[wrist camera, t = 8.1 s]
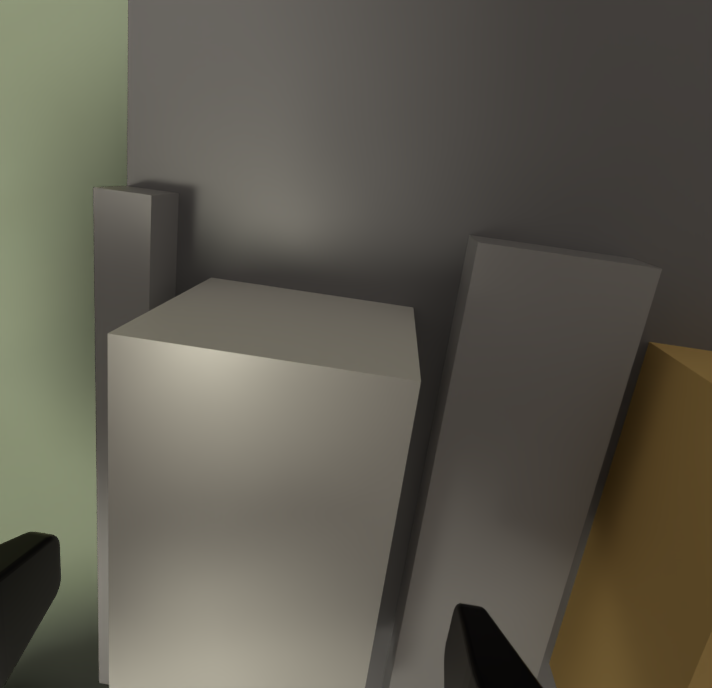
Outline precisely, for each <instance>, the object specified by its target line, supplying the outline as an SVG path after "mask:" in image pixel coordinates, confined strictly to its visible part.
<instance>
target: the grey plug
mask: <svg viewBox="0 0 712 688" xmlns="http://www.w3.org/2000/svg"><path fill="white" fill-rule="evenodd" d="M420 384H421V376H420V367H419V357H418V348H417V338H416V328H415V319H414V309H413V307H406V306H400V305H393V304H386V303H380V302H373V301H366V300H359V299H353V298H346V297H339V296H333V295H326V294H319V293H312V292H306V291H299V290H292V289H285V288H279V287H272V286H265V285H259V284H252V283H245V282H238V281H232V280H225V279H218V278H209V279H208V280H206V281H204V282H202V283H200V284H198V285H196V286H195V287H193V288H191V289H189V290H187V291H185V292H183V293H182V294H180V295H178V296H176V297H174V298H172V299H170V300H169V301H167V302H165V303H163V304H161V305H159V306H158V307H156V308H154V309H152V310H150V311H148V312H146V313H145V314H143V315H141V316H139V317H137V318H135V319H133V320H132V321H130V322H128V323H126V324H124V325H122V326H120V327H119V328H117V329H115V330H113V331H111V332H109V333H108V571H109V688H365V685H366V680H367V674H368V669H369V663H370V658H371V652H372V647H373V641H374V636H375V630H376V625H377V620H378V614H379V609H380V603H381V598H382V592H383V587H384V581H385V576H386V570H387V565H388V559H389V554H390V548H391V543H392V538H393V532H394V527H395V521H396V516H397V510H398V505H399V499H400V494H401V488H402V483H403V477H404V472H405V466H406V461H407V455H408V450H409V445H410V439H411V434H412V428H413V423H414V417H415V412H416V406H417V401H418V395H419V390H420Z"/></svg>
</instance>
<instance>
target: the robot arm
mask: <svg viewBox="0 0 712 688" xmlns="http://www.w3.org/2000/svg"><path fill="white" fill-rule="evenodd" d="M60 581H61V567H60V544H59V540H58V538H57V537H56V536H54V535H52V534H46V533H40V532H28V533H25V534H22V535H20V536H18V537H16V538H13V539H11V540H9V541H7V542H4V543H2V544H0V688H3V686H4V685H5V683H6V681H7V680H8V678H9V676H10V675H11V673H12V671H13V669H14V668H15V666H16V664H17V662H18V661H19V659H20V657H21V655H22V654H23V652H24V650H25V649H26V647H27V645H28V643H29V642H30V640H31V638H32V636H33V635H34V633H35V631H36V629H37V628H38V626H39V624H40V622H41V621H42V619H43V617H44V615H45V614H46V612H47V610H48V608H49V607H50V605H51V603H52V602H53V600H54V598H55V596H56V594H57V592H58V589H59V586H60ZM444 688H543V687H542V686H541V684H540V683H539V682H538V680H537V679H536V678H535V676H534V675H533V674H532V672H531V671H530V669H529V668H528V667H527V665H526V664H525V663H524V661H523V660H522V658H521V657H520V656H519V654H518V653H517V652H516V650H515V649H514V648H513V646H512V645H511V643H510V642H509V641H508V639H507V638H506V637H505V635H504V634H503V633H502V631H501V630H500V628H499V627H498V626H497V624H496V623H495V622H494V620H493V619H492V617H491V616H490V615H489V613H488V612H487V611H486V610H485V609H484V608H483V607H481V606H476V605H470V604H464V603H459V604H457V605H456V606H455V608H454V611H453V615H452V619H451V623H450V628H449V632H448V636H447V640H446V645H445V652H444Z"/></svg>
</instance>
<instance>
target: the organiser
mask: <svg viewBox="0 0 712 688" xmlns="http://www.w3.org/2000/svg"><path fill="white" fill-rule="evenodd" d="M93 212H94V297H95V382H96V467H97V552H98V636H99V683H103V684H109V571H108V333H109V332H111V331H113V330H115V329H117V328H119V327H120V326H122V325H124V324H126V323H128V322H130V321H132V320H133V319H135V318H137V317H139V316H141V315H143V314H145V313H146V312H148V311H150V310H152V309H154V308H156V307H158V306H159V305H161V304H163V303H165V302H167V301H169V300H170V299H172V298H174V297H176V296H178V295H180V294H182V293H183V292H185V291H187V290H189V289H191V288H193V287H195V286H196V285H198V284H200V283H202V282H204V281H206V280H208V279H209V278H218V279H225V280H232V281H238V282H245V283H252V284H259V285H265V286H272V287H279V288H285V289H292V290H299V291H306V292H312V293H319V294H326V295H333V296H339V297H346V298H353V299H359V300H366V301H373V302H380V303H386V304H393V305H400V306H406V307H413V309H414V319H415V328H416V338H417V348H418V357H419V367H420V376H421V384H420V390H419V395H418V401H417V406H416V412H415V417H414V423H413V428H412V434H411V439H410V445H409V450H408V455H407V461H406V466H405V472H404V477H403V483H402V488H401V494H400V499H399V505H398V510H397V516H396V521H395V527H394V532H393V538H392V543H391V548H390V554H389V559H388V565H387V570H386V576H385V581H384V587H383V592H382V598H381V603H380V609H379V614H378V620H377V625H376V630H375V636H374V641H373V647H372V652H371V658H370V663H369V669H368V674H367V680H366V685H365V688H444V652H445V645H446V640H447V636H448V632H449V628H450V623H451V619H452V615H453V611H454V608H455V606H456V605H457V604H459V603H464V604H470V605H476V606H481V607H483V608H484V609H485V610H486V611H487V612H488V613H489V615H490V616H491V617H492V619H493V620H494V622H495V623H496V624H497V626H498V627H499V628H500V630H501V631H502V633H503V634H504V635H505V637H506V638H507V639H508V641H509V642H510V643H511V645H512V646H513V648H514V649H515V650H516V652H517V653H518V654H519V656H520V657H521V658H522V660H523V661H524V663H525V664H526V665H527V667H528V668H529V669H530V671H531V672H532V674H533V675H534V676H535V678H536V679H537V680H538V682H539V683H540V684H541V686H542V687H543V688H557V687H556V684H555V681H554V678H553V674H552V671H551V668H550V664H549V662H550V659H551V656H552V653H553V649H554V646H555V643H556V640H557V637H558V633H559V630H560V627H561V624H562V621H563V617H564V614H565V611H566V608H567V604H568V601H569V598H570V595H571V592H572V588H573V585H574V582H575V579H576V576H577V572H578V569H579V566H580V563H581V559H582V556H583V553H584V550H585V547H586V543H587V540H588V537H589V534H590V531H591V527H592V524H593V521H594V518H595V514H596V511H597V508H598V505H599V502H600V498H601V495H602V492H603V489H604V486H605V482H606V479H607V476H608V473H609V469H610V466H611V463H612V460H613V457H614V453H615V450H616V447H617V444H618V441H619V437H620V434H621V431H622V428H623V425H624V421H625V418H626V415H627V412H628V408H629V405H630V402H631V399H632V396H633V392H634V389H635V386H636V383H637V380H638V376H639V373H640V370H641V367H642V363H643V360H644V357H645V354H646V351H647V347H648V344H649V342H654V343H661V344H668V345H674V346H681V347H688V348H695V349H701V350H708V351H712V0H128V127H127V186H109V187H93Z"/></svg>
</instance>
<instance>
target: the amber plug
mask: <svg viewBox="0 0 712 688" xmlns="http://www.w3.org/2000/svg"><path fill="white" fill-rule="evenodd" d="M549 664H550V668H551V671H552V674H553V678H554V681H555V684H556V687H557V688H712V351H708V350H701V349H695V348H688V347H681V346H674V345H668V344H661V343H654V342H649V344H648V347H647V351H646V354H645V357H644V360H643V363H642V367H641V370H640V373H639V376H638V380H637V383H636V386H635V389H634V392H633V396H632V399H631V402H630V405H629V408H628V412H627V415H626V418H625V421H624V425H623V428H622V431H621V434H620V437H619V441H618V444H617V447H616V450H615V453H614V457H613V460H612V463H611V466H610V469H609V473H608V476H607V479H606V482H605V486H604V489H603V492H602V495H601V498H600V502H599V505H598V508H597V511H596V514H595V518H594V521H593V524H592V527H591V531H590V534H589V537H588V540H587V543H586V547H585V550H584V553H583V556H582V559H581V563H580V566H579V569H578V572H577V576H576V579H575V582H574V585H573V588H572V592H571V595H570V598H569V601H568V604H567V608H566V611H565V614H564V617H563V621H562V624H561V627H560V630H559V633H558V637H557V640H556V643H555V646H554V649H553V653H552V656H551V659H550V662H549Z"/></svg>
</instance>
